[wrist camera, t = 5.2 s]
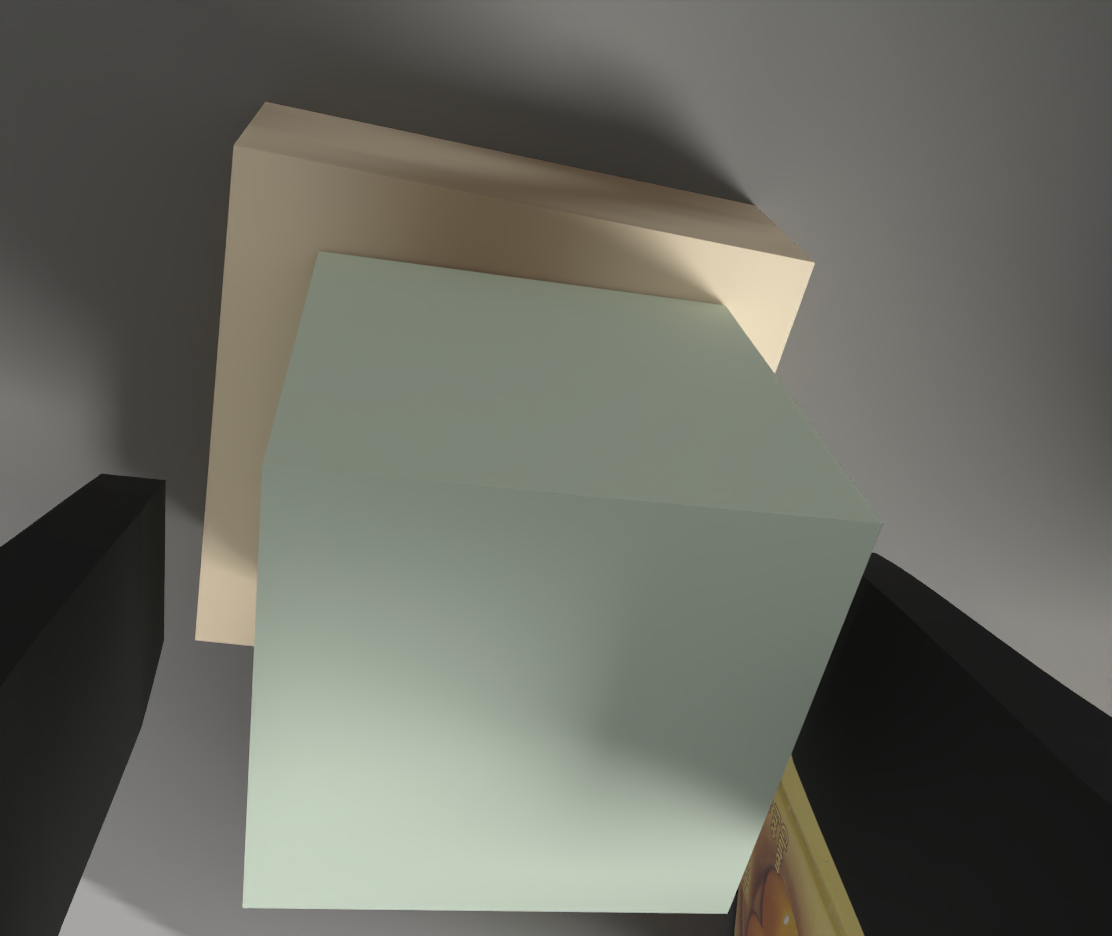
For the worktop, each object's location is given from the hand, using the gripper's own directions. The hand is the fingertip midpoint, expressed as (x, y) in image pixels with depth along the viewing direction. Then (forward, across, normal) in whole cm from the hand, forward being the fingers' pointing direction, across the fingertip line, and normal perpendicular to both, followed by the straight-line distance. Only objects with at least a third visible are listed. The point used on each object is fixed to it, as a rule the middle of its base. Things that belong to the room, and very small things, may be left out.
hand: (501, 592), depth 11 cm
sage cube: (+3, 0, 0) cm, 3 cm away
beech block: (+6, 0, 0) cm, 6 cm away
